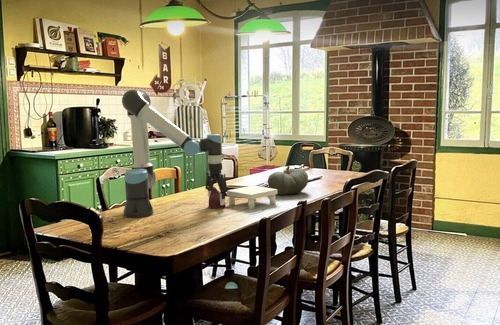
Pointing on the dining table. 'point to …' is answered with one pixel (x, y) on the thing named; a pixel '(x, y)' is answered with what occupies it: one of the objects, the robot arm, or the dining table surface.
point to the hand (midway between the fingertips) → (216, 203)
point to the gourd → (288, 181)
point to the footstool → (251, 194)
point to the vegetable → (215, 199)
